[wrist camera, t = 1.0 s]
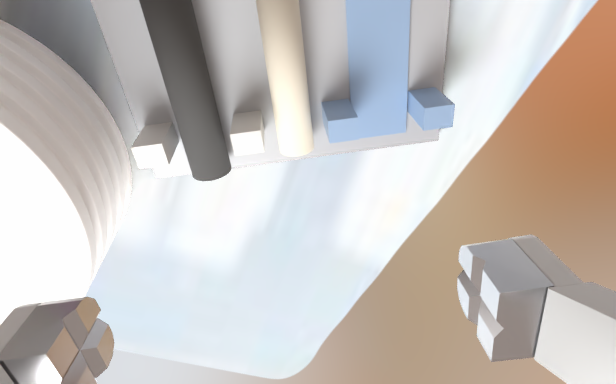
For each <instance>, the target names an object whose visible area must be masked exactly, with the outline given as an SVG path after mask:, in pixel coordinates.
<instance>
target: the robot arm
mask: <svg viewBox="0 0 616 384" xmlns="http://www.w3.org/2000/svg"><path fill="white" fill-rule="evenodd" d="M459 262H460V264H461V266H462V267H463V269H464V270H463V271H462V272H461V273H460V275H459V276H458V282H457V283H458V284H457V285H458V286H457V289H458V295H459V301H460V304H461V306H462V309H463V311H464V313H465V315H466V317H467V319H468V320H470V321H471V322H473V323H475V324H476V325H478V327H477V337H478V339H479V341H480V343H481V344H482V346H483V348H484V350H485V352H486V353H487V355H488V357H489V359H490V360H491V362H495V361H504V360H513V359H523V358H533V357H534V360H535V361H537V362H538V363H540V364H541V365H542V366H544V367H545V368H547V369H548V370H549V371H551V372H552V373H553V374H555V375H556V376H557V377H559V378H560V379H562V380H563V381H564V382H566V383H567V384H616V292H615V291H613V290H611V289H608V288H606V287H603V286H601V285H598V284H596V283H593V282H587V283H584V282H583V281H582V280H580V279H579V278H578V277H577V276H576V275H575V274H574V273H573V272H572V271H571V270H570V269H569V268H568V267H567V266H566V265H565V264H564V263H563V262H562V261H561V260H560V259H559V258H558V257H557V256H556V255H555V254H554V253H553V252H552V251H551V250H550V249H549V248H548V247H547V246H546V245H545V244H544V243H543V242H542V241H541V240H539V238H538V237H536V236H533V235H525V236H519V237H513V238H508V239H505V240H498V241H491V242H484V243H478V244H470V245H463V246H461V248H460V251H459ZM100 311H101V309H100V307H99V306H98V304H97V302H96V300H95V299H94V298H90V297H81V298H73V299H64V300H55V301H46V302H40V303H32V304H24V305H21V306H19V307H16V308H14V309H13V311H12V312H11V313H10V314H9V315H8V316H7V318H6V319H5V320H4V321H3V322H2V323H1V325H0V384H98V382H97V379H96V377H98V376H99V375H100V374H101V373H102V372H103V371H104V370H105V369H107V368H108V366H109V363H110V361H111V359H112V356H113V348H114V339H113V334H112V331H111V329H110V327H109V325H108V324H107V323H105V322H103V321H102V320H100V319H99V318H98V316H99V314H100Z"/></svg>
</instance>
